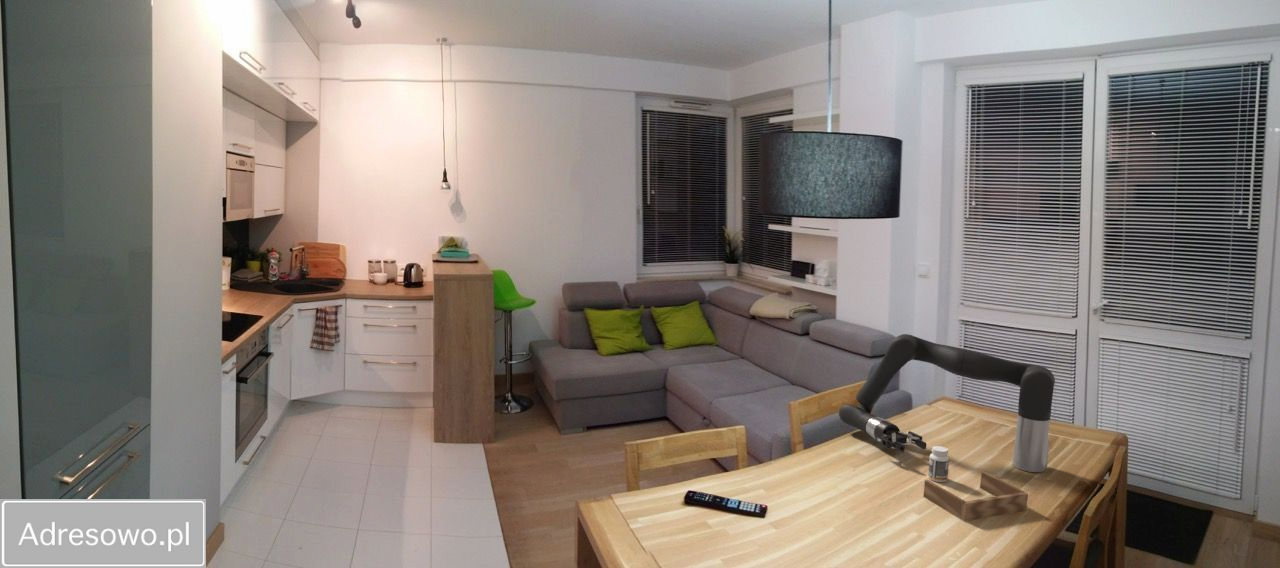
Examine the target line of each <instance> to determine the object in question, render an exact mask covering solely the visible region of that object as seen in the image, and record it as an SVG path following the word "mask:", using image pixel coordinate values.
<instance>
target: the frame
mask: <svg viewBox="0 0 1280 568" xmlns="http://www.w3.org/2000/svg"><path fill="white" fill-rule="evenodd" d="M979 483H980V484H979V488H980V489H981V490H983V491H985V492H987V493H989V494H991V495H993V496H990V497H985V498H978V499H977V498H976V499H971V500H966V501H965V500H964V499H962V498H960V497H959V496H957V495H955V494H953V493H952V492H950V491H949V490H946V489H945V488H943V487H941V486H940V485H938V484H936V483H934V481H932V480H930V479H925V480H924V486H923V498H925V499H927V500H928V501H930V502H931V503H933V504H935V505H937V506H938V507H940V508H942V509H943V510H945V511H946V512H948V513H949V514H950V515H951V514H952V515H953V516H955V517H956V518H958V519H960V520H961V521H963V522H966V521H972V520H977V519H978V520H979V519H983V518H989V517H995V516H1001V515H1006V514H1013V513H1019V512H1024V510H1025V511H1027V508H1028V507H1027V506H1028V497H1029V493H1028V492H1026V491H1024V490H1022V489H1021V488H1018V487H1016V486H1014V485H1013V484H1010V483H1008V482H1006V481H1005V480H1002V479H1000V478H998V477H997V476H995V475H992V474H990V473H988V472H986V471H981V473H980V482H979ZM1018 511H1019V512H1018Z"/></svg>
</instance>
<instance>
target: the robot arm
mask: <svg viewBox="0 0 1280 568" xmlns="http://www.w3.org/2000/svg"><path fill="white" fill-rule="evenodd" d="M910 361H918V362H923V363H927V364H928V363H929V364H932V365H935V367H936V366H937V367H939V368H941V369H942V370H945V371H946V372H949V373H950V374H953V375H955V376H959V377H963V378H967V379H971V380H976V381H983V382H984V381H986V382H1001V383H1007V384H1010V385H1014V386H1018V387H1019V396H1018V403H1017V404H1018V405H1017V406H1018V409H1017V420H1016V429H1015V436H1014V437H1015V439H1014V447H1013V457H1012V465H1013V467H1015V468H1016V469H1019V470H1021V471H1025V472H1030V473H1042V472H1044V471H1045V470H1047V467H1048V459H1049V453H1050V444H1051V443H1050V440H1049V433H1050V432H1049V431H1050V426H1051V425H1050V423H1051V422H1050V421H1051V415H1052V405H1053V396H1054V387H1055V382H1056V379H1055V375H1054V373H1053V372H1052V371H1051V370H1049V369H1048V368H1047V367H1044V366H1043V365H1042V366H1041V365H1036V364H1028V363H1023V362H1015V361H1011V360H1007V359H1004V358H1003V359H1002V358H1000V357H998V356H993V355H989V354H986V353H982V352H979V351H974V350H971V349H966V348H961V347H956V346H951V345H945V344H940V343H937V342H936V343H935V342H932V341H929V340H926V339H923V338H920V337H918V336H914V335H912V334H907V333H906V334H905V333H903V334H900V335H897V336H896V337H895V338H893V339H892V340H891V341H890V343H889V346H888V348H887V349H886V352H885V354H884V357H883V358H882V359H881V361H880V363H879V365H878V366H877V367H876V369H875V370H874V371H873V373H872V374H871V375H870V376H869V377H868V378H867V380H866V382H864V384H863V385H862V386H861V388H860V389H859V390H858V392H857V393H856V395H855V398H856V401H857V402H858V403H859V406H856V405H854V404H850V403H846V404H843V405H842V406H841V407H840V408H839V410H838V416H839V419H840V420H841V421H842V422H843V423H844V424H846V425H849V426H851V427H853V428H856V429H858V430H861V431H862V432H863V433H865V434H867V435H869V436H870V437H871V438H873V439H874V440H876V442H877V444H879V445H881V446H882V447H884V448H886V449H890V448H891V449H896V450H898V451H900V452H902V453H904V452H905V450H906V447H905V446H906V445H907V446H913V445H914V446H916V447H919V448H920V449H921V450H926V449H927V442H925V441H923V436H922V435H920V434H918V433H914V431H908V433H905V432H903V431H901V430H900V427H898V426H897V424H894V423H892V422H891V421H888V420H886V419H884V418H882V417H879V416H877V415H875V414H872V412H873V409H874V406H875V405H876V403H877V402H878V401H879V399H880V398H881V397H882V396H883V394H884V393H885V391H886V389H887V388H888V386H889V384H890V383H891V381H892V379H893V378H894V376H895V375H896V374H898V372H899V371H900V370H901V369H902V368H903V367H904V366H905V365H906V364H907V363H909V362H910Z"/></svg>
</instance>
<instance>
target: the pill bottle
mask: <svg viewBox="0 0 1280 568" xmlns="http://www.w3.org/2000/svg"><path fill="white" fill-rule="evenodd" d="M931 452H932V453H930V454H929V460H928V461H929V462H928V473H927V477H928V478H929V479H928V480H930V481H932V482H937V483H945V482H947V481H948V477H949V467H950V466H949V465H950V457H949V456H948V455H949V449H948V448H947V447H944V446H940V445H934V446H932V447H931Z"/></svg>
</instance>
